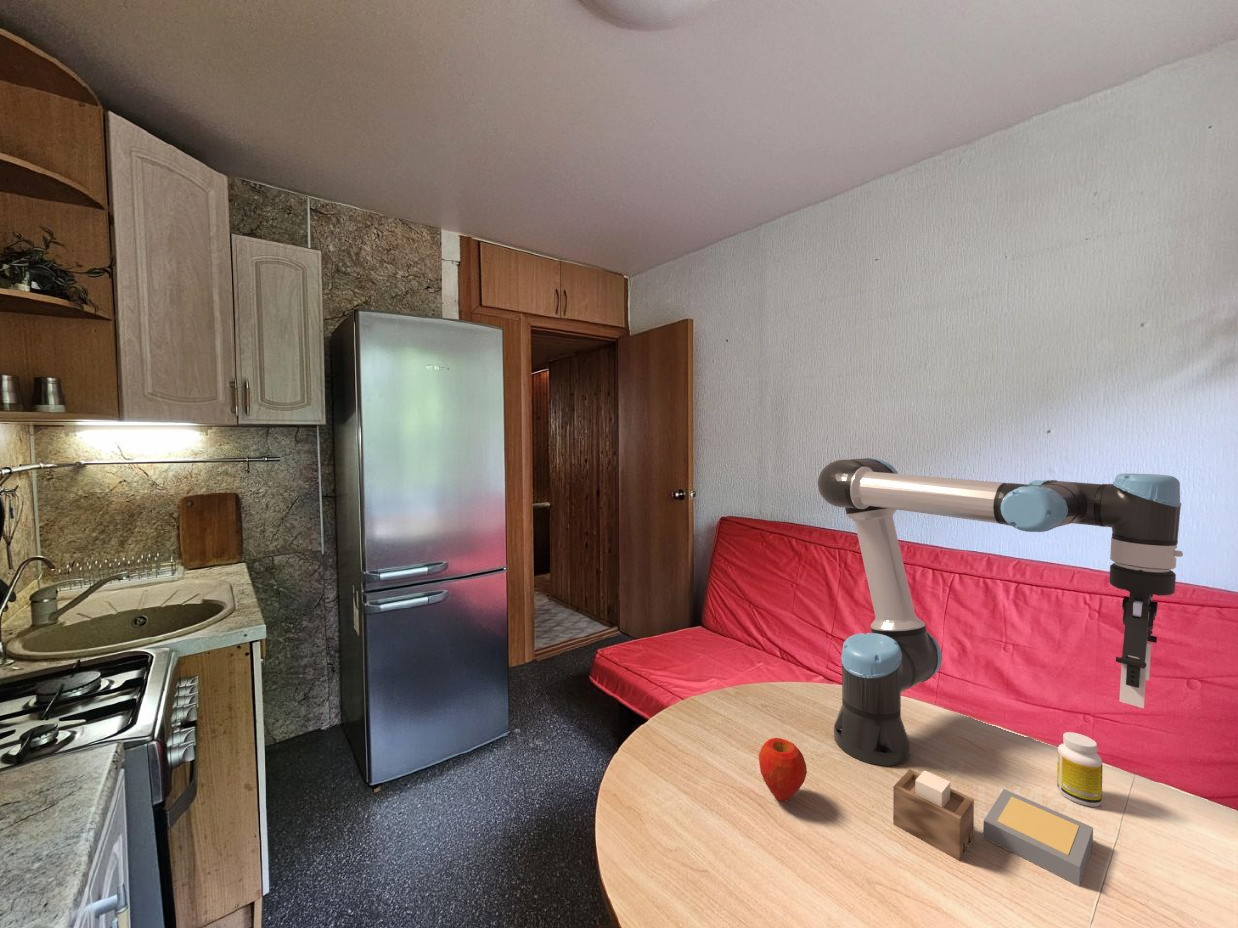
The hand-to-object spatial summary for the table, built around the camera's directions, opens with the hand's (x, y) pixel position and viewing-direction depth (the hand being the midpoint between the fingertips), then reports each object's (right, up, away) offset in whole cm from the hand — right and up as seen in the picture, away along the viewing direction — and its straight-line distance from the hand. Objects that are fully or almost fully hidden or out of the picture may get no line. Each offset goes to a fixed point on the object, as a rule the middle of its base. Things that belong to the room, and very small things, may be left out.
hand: (1134, 689), depth 83 cm
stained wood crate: (-33, -26, +2) cm, 42 cm away
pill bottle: (0, -25, +10) cm, 27 cm away
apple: (-56, -26, +11) cm, 63 cm away
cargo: (-33, -20, +2) cm, 39 cm away
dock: (-17, -25, -1) cm, 30 cm away
